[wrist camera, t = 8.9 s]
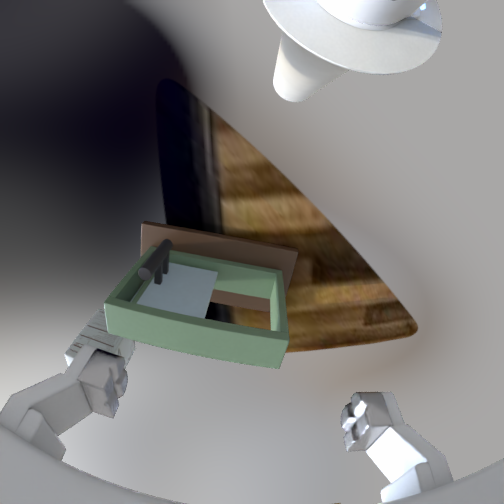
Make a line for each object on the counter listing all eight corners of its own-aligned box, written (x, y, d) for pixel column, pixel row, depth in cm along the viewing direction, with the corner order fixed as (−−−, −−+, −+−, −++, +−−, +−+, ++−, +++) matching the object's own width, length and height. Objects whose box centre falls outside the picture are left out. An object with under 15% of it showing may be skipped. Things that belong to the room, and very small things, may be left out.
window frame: (144, 220, 37) (87, 272, 23) (297, 248, 38) (315, 317, 24) (143, 283, 41) (99, 349, 27) (280, 309, 42) (286, 388, 28)
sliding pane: (162, 230, 35) (125, 270, 25) (222, 241, 35) (206, 287, 25) (160, 263, 37) (127, 311, 27) (217, 275, 37) (201, 328, 27)
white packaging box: (136, 348, 47) (111, 400, 36) (101, 337, 47) (72, 384, 35) (135, 318, 44) (105, 371, 33) (97, 306, 44) (62, 354, 32)
